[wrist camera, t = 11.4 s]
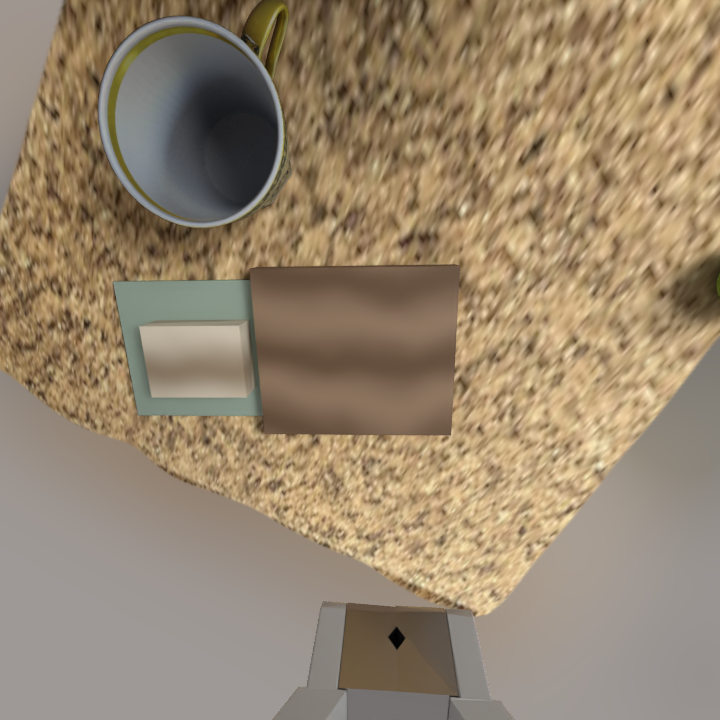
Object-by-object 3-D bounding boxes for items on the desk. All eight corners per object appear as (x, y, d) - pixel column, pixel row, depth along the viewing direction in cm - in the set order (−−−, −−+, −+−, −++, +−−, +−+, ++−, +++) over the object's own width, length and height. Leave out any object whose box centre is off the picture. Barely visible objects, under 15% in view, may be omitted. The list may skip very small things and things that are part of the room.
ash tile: (155, 320, 34) (139, 326, 32) (248, 319, 34) (239, 325, 32) (166, 386, 36) (151, 397, 34) (255, 386, 36) (246, 397, 33)
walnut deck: (256, 267, 33) (249, 268, 31) (455, 264, 32) (459, 266, 31) (270, 423, 37) (264, 433, 35) (447, 424, 36) (450, 435, 35)
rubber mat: (116, 281, 34) (113, 281, 34) (257, 279, 34) (256, 280, 33) (141, 413, 38) (138, 415, 37) (269, 413, 37) (268, 416, 37)
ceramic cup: (266, 256, 33) (219, 264, 23) (160, 175, 32) (64, 148, 22) (364, 111, 30) (357, 52, 20) (251, 13, 28) (185, -101, 19)
